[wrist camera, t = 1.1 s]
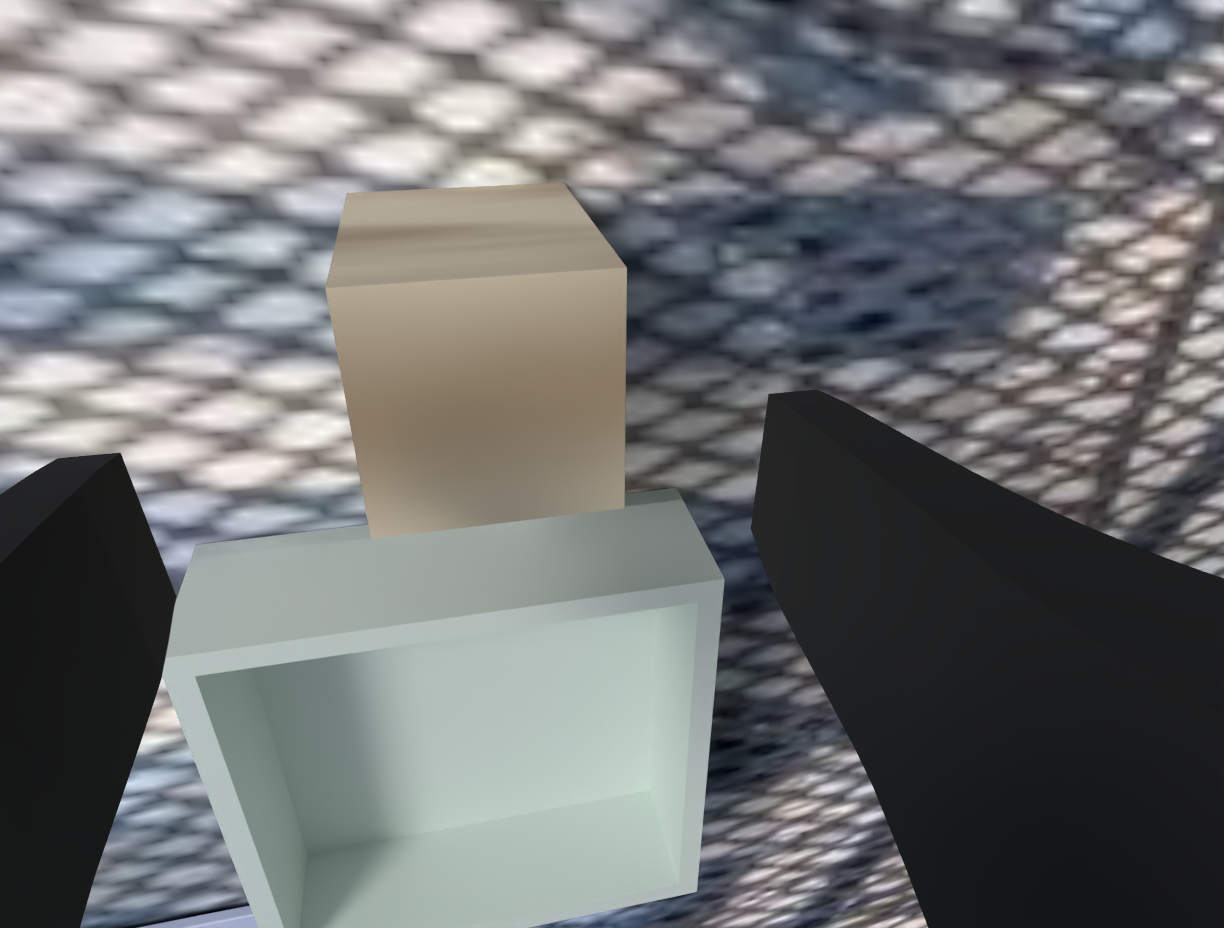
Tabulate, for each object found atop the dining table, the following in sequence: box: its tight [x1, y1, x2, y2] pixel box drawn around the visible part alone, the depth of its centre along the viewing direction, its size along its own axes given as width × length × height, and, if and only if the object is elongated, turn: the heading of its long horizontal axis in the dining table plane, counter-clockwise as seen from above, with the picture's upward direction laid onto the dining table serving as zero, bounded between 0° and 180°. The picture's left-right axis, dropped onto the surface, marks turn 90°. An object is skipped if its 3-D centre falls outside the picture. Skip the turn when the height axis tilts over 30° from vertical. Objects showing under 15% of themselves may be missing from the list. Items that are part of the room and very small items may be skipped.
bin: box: [162, 488, 725, 928], centre depth 23 cm, size 12×12×4 cm
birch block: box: [325, 183, 627, 539], centre depth 16 cm, size 4×4×6 cm
